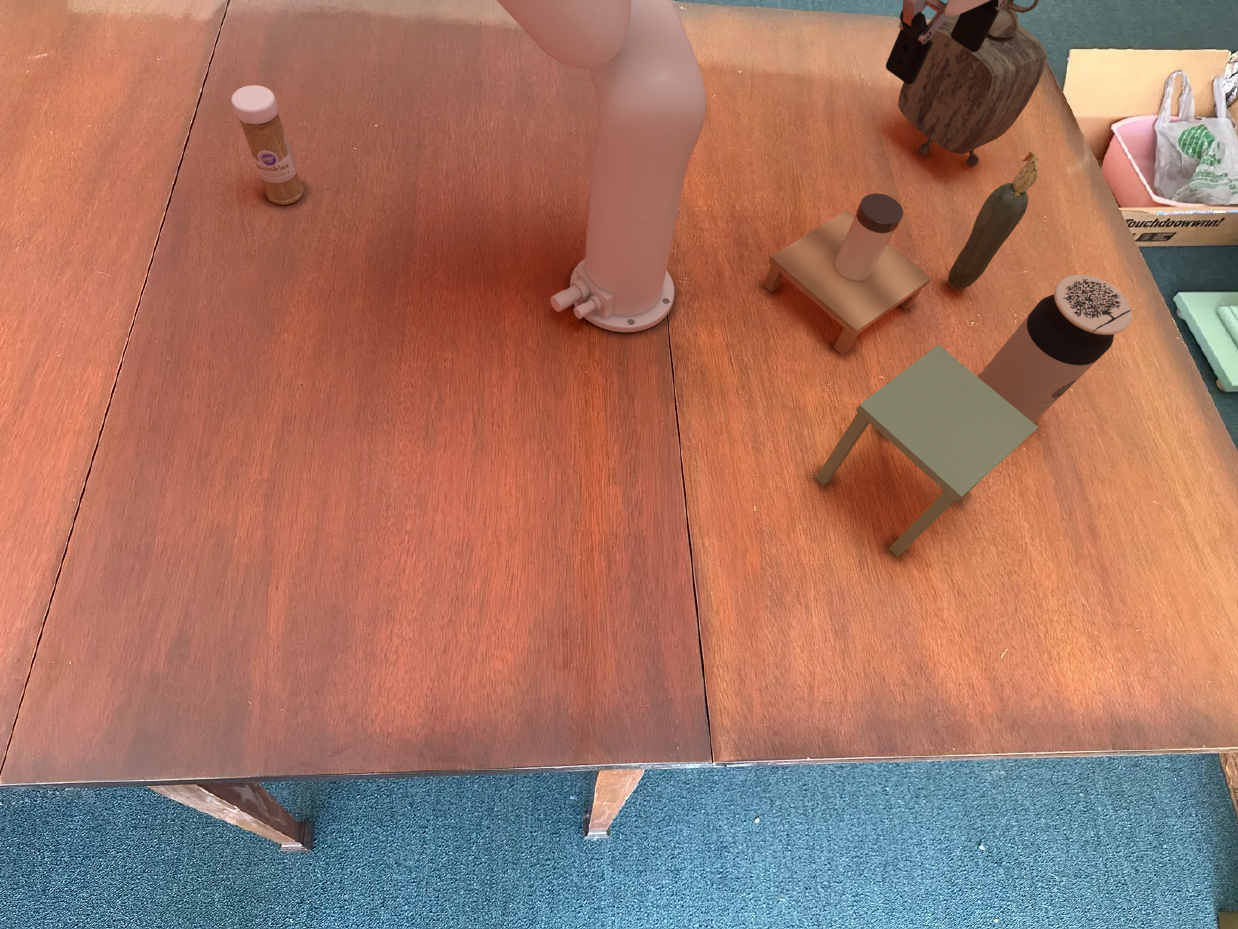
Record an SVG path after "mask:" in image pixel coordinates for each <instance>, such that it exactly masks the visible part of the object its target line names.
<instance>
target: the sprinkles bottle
mask: <svg viewBox="0 0 1238 929" xmlns="http://www.w3.org/2000/svg"><path fill="white" fill-rule="evenodd" d="M230 98H231V101H230V102H231V105H232V108H233V111H234V114H235V117H237V119H238V120H239V122H240V125H241V127H242V130H243V134H244V137H245V139H246V142H247V144H248V147H249V150H250V153H251V157H252V161H253V163H254V165H255V169H256V171H257V172H258V176H259V177H260V180H261V182H262V185H263V187H264V188H263V189H264V191H265V196H266V198H267V199H268V200H269V201H270V202H271V203H273V204H276V205H282V206H284V205H291V204H294V203H296V202H298V201H299V200H300V199H301V198H302V196H303V195H304V190H305V189H304V185H303V184H302V183H301V180H300V176H299V174H298V170H297V165H296V162H295V159H294V156H293V153H292V150H291V147H290V143H289V140H288V137H287V135H286V134H287V133H286V132H285V129H284V126H283V122H282V120H281V117H280V110H279V105H278V103H277V99H276V96H275V94H274V93H273V91H272V90H271V89H269V88H268V87H266V86H262V85H256V84H251V85H246V86H242V87H240V88H238V89H237V90H235V92H233V93H232V96H231V97H230Z"/></svg>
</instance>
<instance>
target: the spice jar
mask: <svg viewBox="0 0 1238 929" xmlns="http://www.w3.org/2000/svg"><path fill="white" fill-rule="evenodd" d="M854 216H855V217H854V220H853V222H852V224H851V226H850V228H849V231H848V233H847V235H846V237H845V239H844V241H843V244H842V246H841V248H840V250H839V252H838V255H837V257H836V259H835V262H834V264H835V268H836V270H837V272H838V273H839V274H840V275H841V276H843V277H844V278H846V279H849V280H852V281H863V280H866V279H868V278H869V277H870V276H871V274H872V272H873V270H874V268H875V266H876V265H877V263H878V261H879V259H880V257H881V255H882V253H883V251H884V249H885V247H886V246H887V244H888V243H889V242H890V240H891V238H892V236H893V234H894V232H895V230H896V229H897V228H898V227H899V225H900V223H901V221H902V219H903V217H904V209H903V207H902V205H901V204H900V202H898V200H897V199H895V198H893V197H892V196H890V195H887V194H884V193H877V192H875V193H870V194H869V193H868V194H866V195H865V196H864V197H862V199H861V200H860V203H859V204H858V207H857V209H856V212H855V215H854Z"/></svg>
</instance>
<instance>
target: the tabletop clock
mask: <svg viewBox="0 0 1238 929" xmlns="http://www.w3.org/2000/svg"><path fill="white" fill-rule="evenodd" d="M1014 1H1015V0H1007V2H1006V3H1005V4H1004V6H1003V7H1002V8H1000V9H999V8H997V7H996V9H997V10H999V13H998V15H997V17H996V19H995V21H994V23H993V25H992V27H991V29H990V31H989V32H988V34H987V36H986V38H985V40H984V42H983V44H982V46H981V48H980V49H979V50H978V51H976V52H971V51H969V50H968V49H967V48H965V47H964V46H962V45H961V44H959V43H958V42H956V41H955V40H953V39H952V38H951V33H952V30H953V28H954V26H955V24H956V22H957V20H958V18H959V16H960V14H958V15H954V16H948V17H947V18H946V19H945V21H944V22H943V23H942V24H941V26H940V27H939V28H938V29H937V31H936V32H935V33H934V34H933V36H932V37H931V38H930V39H929V40H930V41H932V42H933V44H932V46H931V48H930V51H929V53H928V55H927V57H926V59H925V61H924V64H923V66H922V68H921V70H920V72H919V74H918V76H917V79H916V81H915V82H914V83H912V84H910V85H908V84H906V83H905V82H903V83H902V86H901V88H900V92H899V95H898V102H897V107H898V109H899V112H900V113H901V114H902V115H903V117H904V118H905V119H906V120H907V121H909V123H911V125H913V126H914V127H915V128H916V129H917V130H918V131H919V132H920V133H921V134H923V135H924V136H926V137H927V140H926V142H925V143H921V144H920V145H919V146H918V148H917V152H918V154H919V155H920V156H927V155H928V154H929V152H930V151H931V150H930V149H931V147H930V145H931V143H935V144H936V145H938V146H939V147H941V148H942V149H944V150H946V151H949V152H952V153H955V154H958V155H966V154H967V153H968V155H969V156H968V157H967V158H966V164H967V166H969V167H975V166H976V165H978V164H979V160H980V158H979V156H978V155H977V154H975V150H976V149H978V148H981V147H982V146H984V145H987V144H989V143H991V142H993V141H995V140H998V139H999V138H1000V137H1002V136H1003V135H1004V134H1006V133H1007V132H1008V130H1010V128H1011V127H1012V126H1013V125H1014V124H1015V122H1016V121H1017V119H1018V118H1019V117H1020V115H1021V114H1022V112H1023V111H1024V110H1025V108H1026V107H1027V105H1028V104H1029V102H1030V100H1031V98H1032V96H1033V94H1034V92H1035V90H1036V89H1037V87H1038V84H1039V82H1040V80H1041V78H1042V76H1043V73H1044V70H1045V68H1046V62H1047V57H1048V54H1047V52H1046V50H1045V48H1044V46H1043V45H1042V44H1041V42H1040V41H1039V40H1038V38H1036V37H1035V36H1034V35H1033V34H1032V33H1031V32H1029V31H1028V30H1027V29H1026V28H1025V27H1023V26H1022V25H1021V24H1020V23H1019V18H1018V14H1017V13H1021V14H1022V13H1023V14H1024V13H1027V12H1031V11H1032V10H1034V9H1035V8H1036V7H1037V6H1038V3H1039V1H1040V0H1033V3H1032V5H1030V6H1021V5H1018V4H1016V3H1015V2H1014Z"/></svg>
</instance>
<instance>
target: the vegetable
mask: <svg viewBox="0 0 1238 929" xmlns="http://www.w3.org/2000/svg"><path fill="white" fill-rule="evenodd" d="M1038 160H1039V159H1038V156H1037V154H1036V153H1035V152H1033V151H1027V154H1026V155H1025V157H1024V158H1023V159H1021V161H1022V162H1026V164H1024V165H1023V166H1022V167H1021V168H1020V170H1019V171H1018V173H1017V174H1016V175H1015V177H1014V178H1013V180H1012V182H1007V183H1004V184H1001V185H1000V186H998V187H997V188H995V189H994V190H993V191H991V193H990V194H989V195H988V197H986V199H985V201H984V202H983V204H982V206H981V207H980V210H979V212H978V214H977V216H976V219H975V220H974V223H973V226H972V229H971V233H970V235H969V237H968V239H967V241H966V243H965V244H964V246H963V247H962V250H961V251H960V252H959V254H958V256H957V257H956V259H955V261H954V262H953V264H952V266H951V268H950V269H949V272H948V277H947V283H948V284H949V287H950V288H951V289H953V290H960V289H961V290H962V289H967V288H969V287H971V286H972V285H974V283H975V282H976V281H978V279H979V278H980V277H981V276H982V275H983V274H984V272H985V271H986V269H987V267H988V266H989V265H990V263H991V261H992V260H993V258H994V257H995V255H996V254H997V253H998V251H999V250H1000V248H1001V247H1002V246H1003V244H1004V243H1005V242H1006V240H1008V238H1009V237H1010V235H1011V234H1012V233H1013V231H1014V230H1015V229H1016V227H1017V226H1018V224H1020V222H1021V220H1022V219H1023V217H1024V216H1025V214H1026V211H1027V209H1028V205H1029V195H1028V190H1029V188H1031V187H1032V186H1033V185H1034V184H1035V182H1036V181H1037V178H1038V169H1039V168H1038V166H1037V165H1038V162H1037V161H1038Z"/></svg>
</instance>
